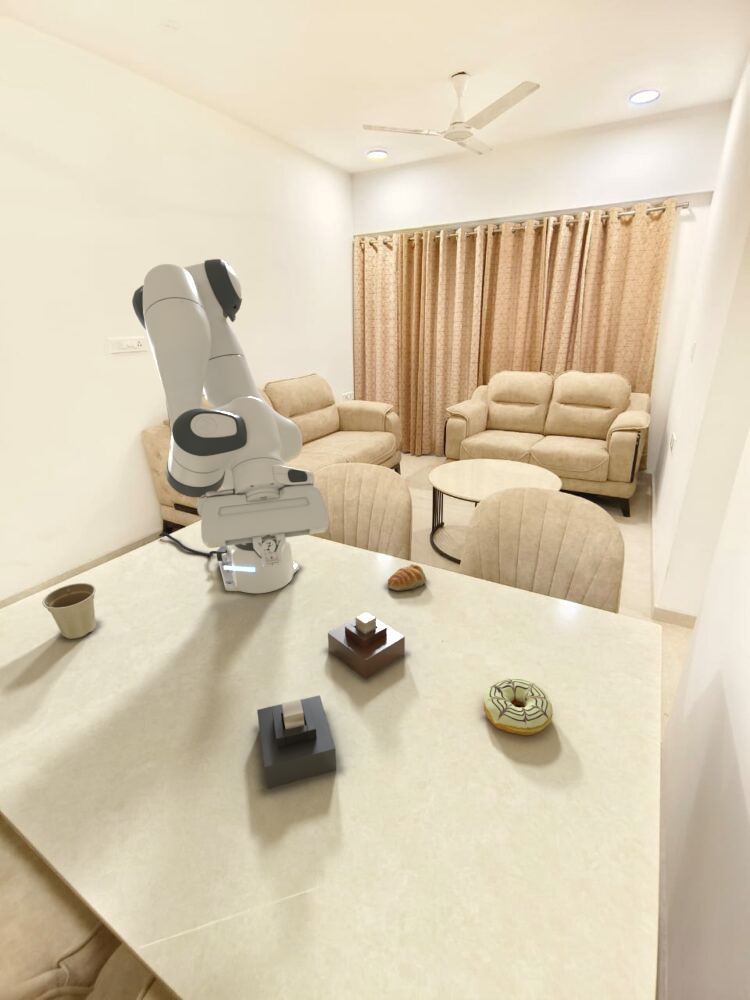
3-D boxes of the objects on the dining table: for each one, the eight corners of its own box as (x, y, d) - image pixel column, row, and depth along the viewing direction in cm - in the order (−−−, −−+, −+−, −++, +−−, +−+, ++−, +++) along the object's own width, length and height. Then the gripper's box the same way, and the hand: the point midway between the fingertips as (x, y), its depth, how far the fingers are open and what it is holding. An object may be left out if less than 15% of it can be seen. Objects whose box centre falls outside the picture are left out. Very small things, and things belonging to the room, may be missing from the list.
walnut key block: (328, 650, 98) (327, 625, 96) (366, 629, 104) (366, 604, 102) (365, 679, 90) (365, 652, 88) (404, 654, 96) (404, 628, 94)
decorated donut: (477, 691, 87) (478, 674, 86) (539, 691, 87) (541, 673, 86) (490, 740, 77) (491, 721, 76) (559, 739, 77) (562, 720, 76)
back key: (355, 628, 95) (355, 617, 94) (366, 622, 97) (366, 611, 96) (365, 635, 93) (364, 623, 92) (376, 628, 95) (376, 617, 94)
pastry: (399, 596, 115) (399, 582, 114) (380, 585, 120) (380, 571, 119) (428, 583, 121) (428, 569, 119) (409, 572, 126) (409, 559, 124)
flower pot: (58, 651, 99) (47, 614, 95) (48, 629, 105) (38, 594, 102) (109, 631, 104) (100, 595, 101) (97, 612, 111) (88, 578, 108)
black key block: (259, 729, 80) (255, 700, 78) (321, 715, 83) (319, 686, 80) (267, 789, 70) (263, 757, 68) (336, 770, 73) (334, 739, 71)
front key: (282, 716, 75) (281, 703, 74) (301, 712, 76) (300, 699, 75) (285, 730, 73) (284, 717, 72) (304, 726, 73) (303, 712, 72)
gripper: (193, 484, 78) (200, 569, 73) (322, 471, 83) (337, 549, 78) (198, 501, 84) (205, 580, 79) (318, 487, 89) (332, 561, 84)
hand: (272, 564), depth 79 cm, fingers closed
